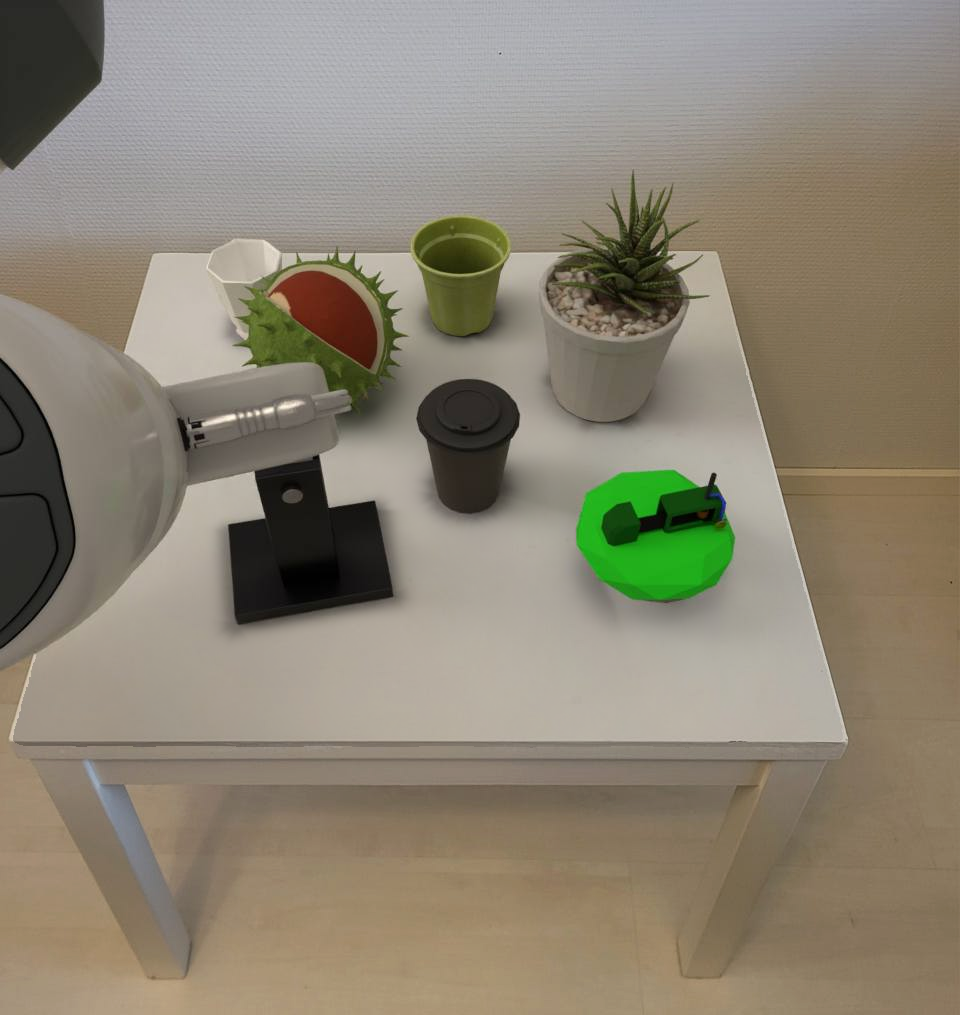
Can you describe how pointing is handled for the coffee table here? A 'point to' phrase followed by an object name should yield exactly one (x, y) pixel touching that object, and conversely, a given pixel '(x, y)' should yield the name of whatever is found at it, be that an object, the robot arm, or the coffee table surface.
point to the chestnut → (324, 324)
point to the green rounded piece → (656, 535)
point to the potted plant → (613, 315)
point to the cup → (242, 274)
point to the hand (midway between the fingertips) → (109, 452)
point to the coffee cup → (468, 441)
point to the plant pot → (461, 270)
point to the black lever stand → (305, 549)
